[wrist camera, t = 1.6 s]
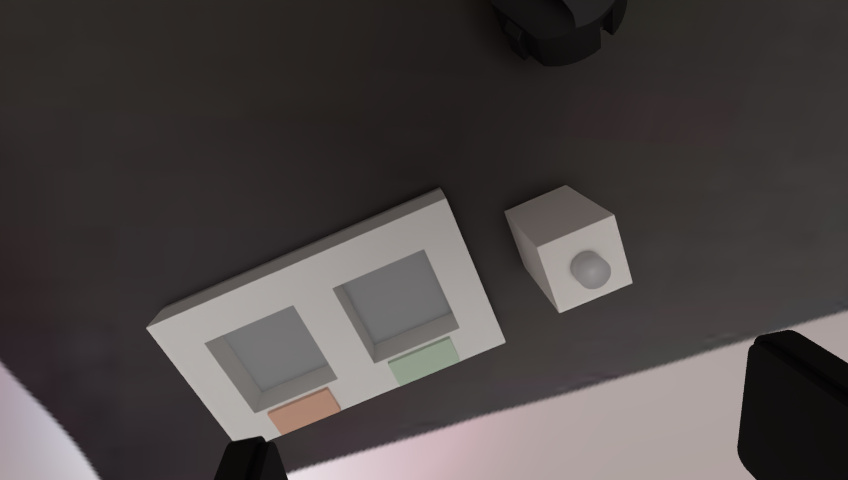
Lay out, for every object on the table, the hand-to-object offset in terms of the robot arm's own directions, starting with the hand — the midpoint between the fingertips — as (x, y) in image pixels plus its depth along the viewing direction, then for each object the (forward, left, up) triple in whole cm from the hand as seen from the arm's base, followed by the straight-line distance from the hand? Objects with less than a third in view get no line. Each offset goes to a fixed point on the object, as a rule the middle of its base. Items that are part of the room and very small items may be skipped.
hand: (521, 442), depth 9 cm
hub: (+8, +5, -19) cm, 22 cm away
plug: (-6, +5, -19) cm, 21 cm away
